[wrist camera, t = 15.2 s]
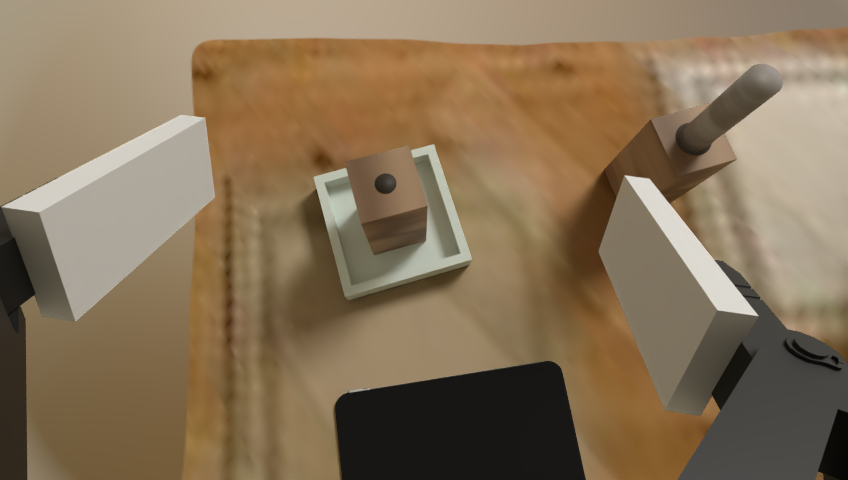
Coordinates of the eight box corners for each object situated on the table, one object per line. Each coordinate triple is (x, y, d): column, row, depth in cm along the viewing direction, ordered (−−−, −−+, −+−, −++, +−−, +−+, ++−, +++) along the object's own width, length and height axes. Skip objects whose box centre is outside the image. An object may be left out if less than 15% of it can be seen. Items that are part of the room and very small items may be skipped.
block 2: (650, 156, 48) (781, 36, 31) (671, 202, 47) (820, 104, 29) (604, 169, 48) (710, 55, 30) (623, 216, 46) (746, 125, 29)
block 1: (411, 191, 46) (409, 145, 36) (426, 240, 45) (427, 205, 35) (360, 205, 46) (344, 161, 36) (373, 255, 44) (361, 223, 35)
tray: (433, 155, 48) (433, 144, 46) (469, 264, 45) (472, 259, 43) (318, 186, 47) (313, 176, 45) (348, 300, 44) (344, 296, 42)
